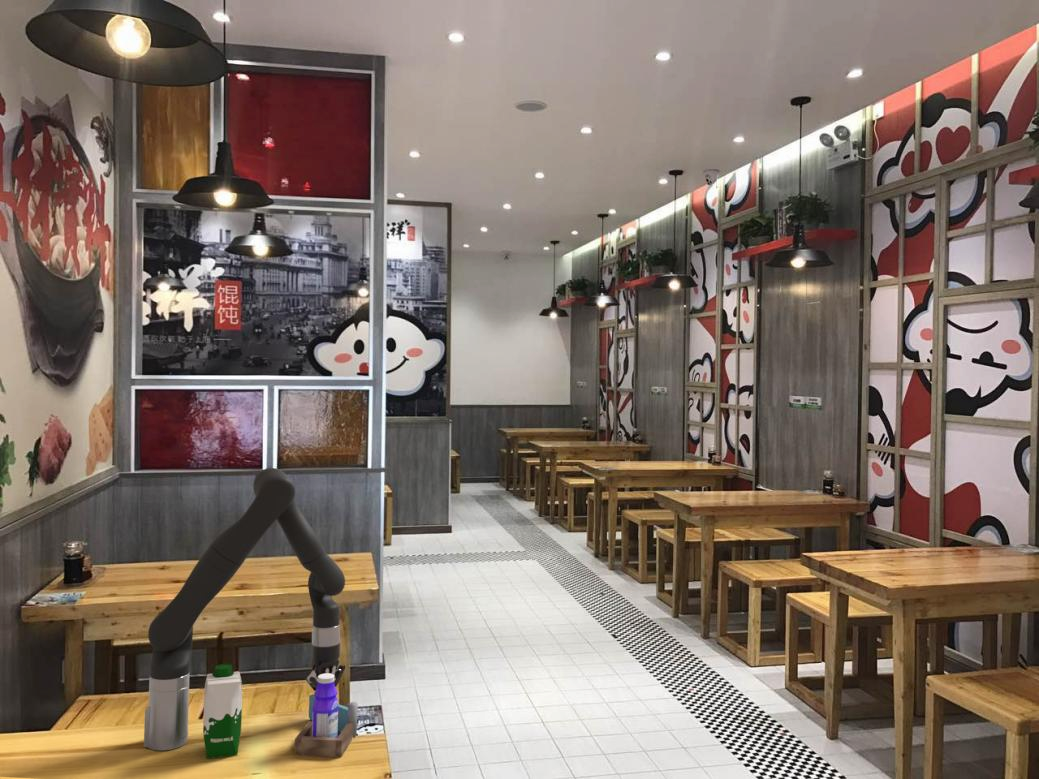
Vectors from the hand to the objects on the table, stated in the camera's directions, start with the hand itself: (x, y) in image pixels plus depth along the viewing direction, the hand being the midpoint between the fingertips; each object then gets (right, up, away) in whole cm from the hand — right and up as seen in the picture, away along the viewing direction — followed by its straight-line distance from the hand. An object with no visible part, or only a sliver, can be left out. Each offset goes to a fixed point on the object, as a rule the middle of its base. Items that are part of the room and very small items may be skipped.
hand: (325, 704), depth 223 cm
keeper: (+3, -3, -7) cm, 8 cm away
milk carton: (-20, -3, -22) cm, 30 cm away
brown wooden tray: (+4, -3, -18) cm, 19 cm away
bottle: (+4, -4, -18) cm, 19 cm away
